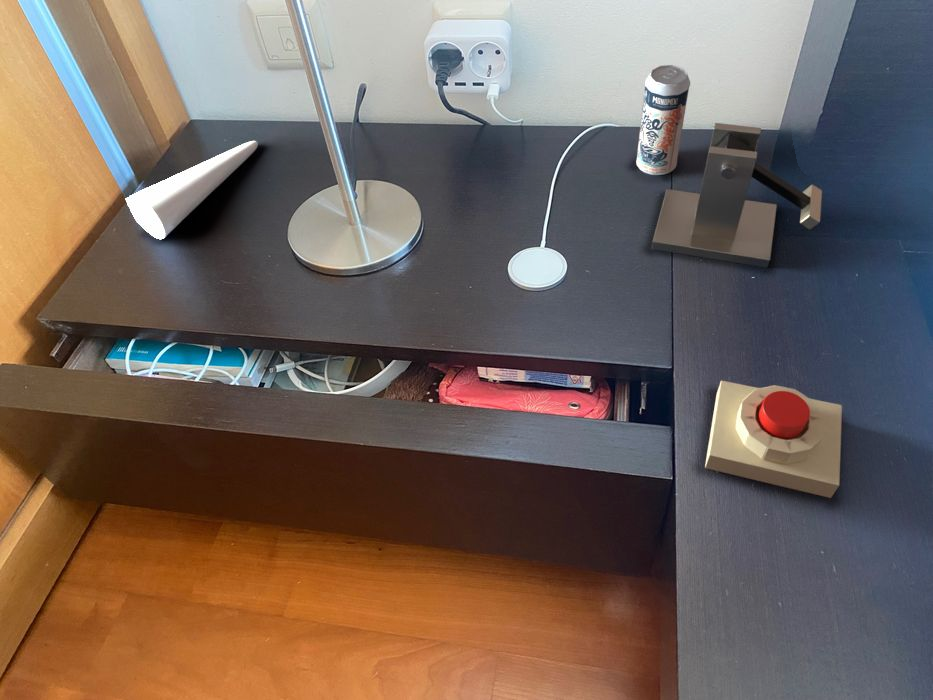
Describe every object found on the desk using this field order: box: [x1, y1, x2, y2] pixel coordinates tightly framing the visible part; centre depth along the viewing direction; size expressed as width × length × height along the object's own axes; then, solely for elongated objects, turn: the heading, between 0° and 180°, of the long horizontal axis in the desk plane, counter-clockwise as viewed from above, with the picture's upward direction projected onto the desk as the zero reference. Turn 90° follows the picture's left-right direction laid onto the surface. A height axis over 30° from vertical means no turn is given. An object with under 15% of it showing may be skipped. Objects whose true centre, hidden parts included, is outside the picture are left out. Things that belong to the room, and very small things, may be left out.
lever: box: [717, 134, 823, 230], centre depth 72 cm, size 12×5×2 cm, turn 71°
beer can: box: [635, 64, 691, 176], centre depth 83 cm, size 5×5×12 cm
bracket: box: [651, 122, 778, 269], centre depth 75 cm, size 12×9×12 cm
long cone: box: [125, 140, 259, 240], centre depth 90 cm, size 6×6×19 cm
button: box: [758, 391, 810, 439], centre depth 59 cm, size 4×4×2 cm
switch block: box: [704, 380, 843, 499], centre depth 61 cm, size 10×8×4 cm
